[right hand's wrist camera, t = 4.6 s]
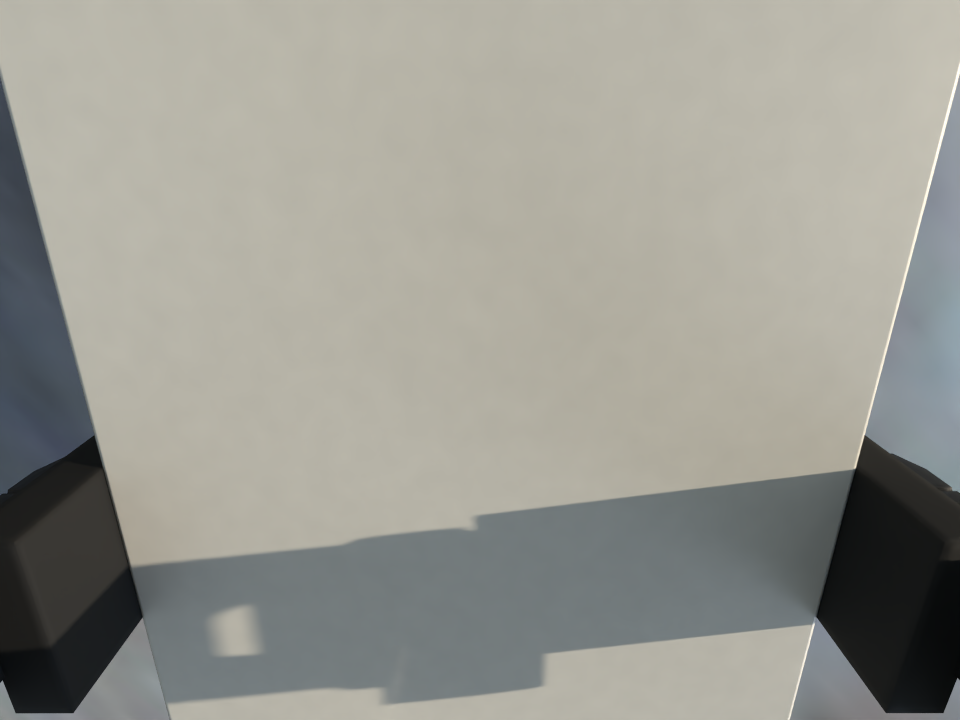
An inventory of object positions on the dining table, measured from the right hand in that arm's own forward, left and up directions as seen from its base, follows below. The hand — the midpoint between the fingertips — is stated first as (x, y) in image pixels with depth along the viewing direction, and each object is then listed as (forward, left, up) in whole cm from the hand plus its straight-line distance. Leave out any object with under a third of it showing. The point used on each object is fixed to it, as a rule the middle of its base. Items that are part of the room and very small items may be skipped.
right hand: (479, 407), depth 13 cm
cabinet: (+5, +5, -5) cm, 9 cm away
